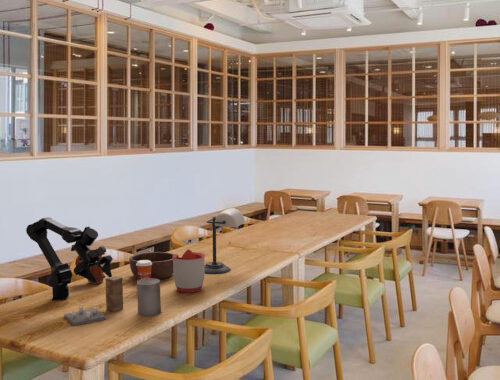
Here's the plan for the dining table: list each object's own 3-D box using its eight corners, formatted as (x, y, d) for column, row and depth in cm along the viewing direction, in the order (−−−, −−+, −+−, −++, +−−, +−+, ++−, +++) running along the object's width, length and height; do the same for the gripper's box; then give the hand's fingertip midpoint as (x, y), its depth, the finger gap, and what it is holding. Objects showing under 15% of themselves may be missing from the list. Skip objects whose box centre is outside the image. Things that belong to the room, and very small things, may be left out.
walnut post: (106, 310, 244) (105, 278, 243) (114, 307, 249) (113, 275, 247) (114, 312, 242) (114, 280, 240) (123, 308, 246) (122, 277, 245)
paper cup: (137, 292, 270) (136, 263, 269) (135, 288, 278) (135, 260, 276) (153, 291, 273) (153, 262, 271) (152, 287, 280) (151, 259, 278)
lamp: (235, 277, 297) (234, 213, 293) (191, 275, 302) (190, 212, 299) (247, 265, 322) (247, 206, 319) (206, 263, 328) (205, 205, 324)
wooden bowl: (124, 273, 308) (124, 254, 307) (169, 268, 319) (169, 250, 318) (135, 284, 286) (135, 264, 285) (183, 278, 296) (183, 259, 295)
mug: (107, 280, 293) (106, 251, 291) (103, 284, 285) (102, 255, 283) (78, 280, 292) (77, 252, 291) (74, 285, 284) (73, 255, 283)
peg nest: (64, 317, 236) (64, 308, 235) (95, 311, 243) (94, 302, 243) (74, 325, 225) (73, 316, 225) (105, 319, 232) (105, 310, 232)
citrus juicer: (193, 282, 287) (192, 244, 285) (211, 290, 273) (211, 249, 271) (165, 288, 278) (164, 248, 276) (183, 296, 264) (182, 254, 262)
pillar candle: (150, 307, 248) (149, 273, 246) (165, 311, 242) (164, 277, 240) (133, 313, 241) (131, 278, 239) (148, 317, 234) (146, 282, 233)
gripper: (77, 244, 240) (96, 273, 236) (109, 237, 256) (128, 264, 251) (64, 260, 245) (84, 289, 240) (97, 252, 261) (115, 279, 256)
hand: (103, 279), depth 247 cm, fingers open, 9 cm apart
